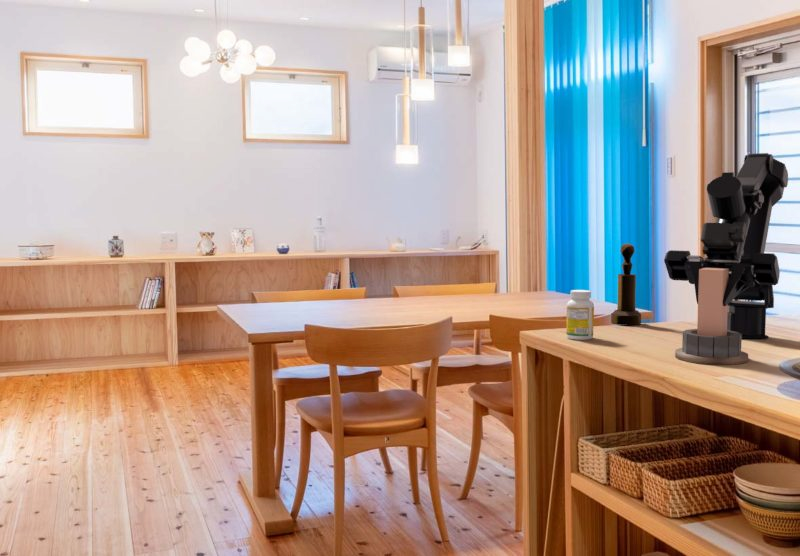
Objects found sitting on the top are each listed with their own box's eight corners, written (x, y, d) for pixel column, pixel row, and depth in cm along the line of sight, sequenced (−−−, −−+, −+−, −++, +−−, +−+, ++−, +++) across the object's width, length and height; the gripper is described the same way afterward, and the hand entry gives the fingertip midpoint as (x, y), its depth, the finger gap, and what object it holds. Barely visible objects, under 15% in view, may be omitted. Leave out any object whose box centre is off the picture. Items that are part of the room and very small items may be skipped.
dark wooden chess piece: (621, 320, 192) (622, 242, 191) (646, 323, 188) (648, 243, 186) (605, 323, 188) (607, 243, 186) (631, 326, 183) (633, 244, 181)
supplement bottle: (580, 341, 164) (581, 292, 164) (560, 337, 169) (561, 290, 168) (599, 338, 168) (599, 291, 167) (578, 335, 172) (579, 288, 171)
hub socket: (733, 352, 152) (734, 327, 152) (759, 365, 140) (760, 338, 140) (666, 351, 152) (667, 327, 152) (687, 364, 140) (688, 338, 140)
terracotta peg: (703, 340, 149) (705, 267, 147) (726, 342, 146) (728, 268, 145) (696, 343, 145) (699, 269, 144) (720, 345, 143) (723, 270, 142)
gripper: (668, 206, 152) (647, 271, 144) (778, 206, 142) (762, 276, 134) (680, 247, 159) (660, 310, 151) (785, 250, 149) (770, 318, 141)
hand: (710, 303), depth 144 cm, fingers closed on terracotta peg, 4 cm apart
